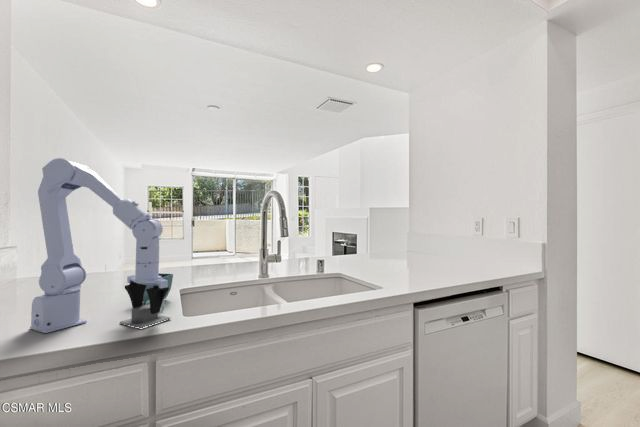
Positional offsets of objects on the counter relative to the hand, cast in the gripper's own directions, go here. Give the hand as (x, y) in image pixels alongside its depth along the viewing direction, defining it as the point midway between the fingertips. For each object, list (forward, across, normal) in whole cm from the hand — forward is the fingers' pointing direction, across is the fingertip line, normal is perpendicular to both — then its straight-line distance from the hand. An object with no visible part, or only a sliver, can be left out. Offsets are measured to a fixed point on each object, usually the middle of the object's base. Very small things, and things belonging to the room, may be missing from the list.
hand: (146, 311), depth 86 cm
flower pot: (+3, +17, -15) cm, 23 cm away
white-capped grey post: (+2, 0, 0) cm, 2 cm away
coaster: (+3, 0, 0) cm, 3 cm away
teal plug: (+3, +7, -8) cm, 11 cm away
